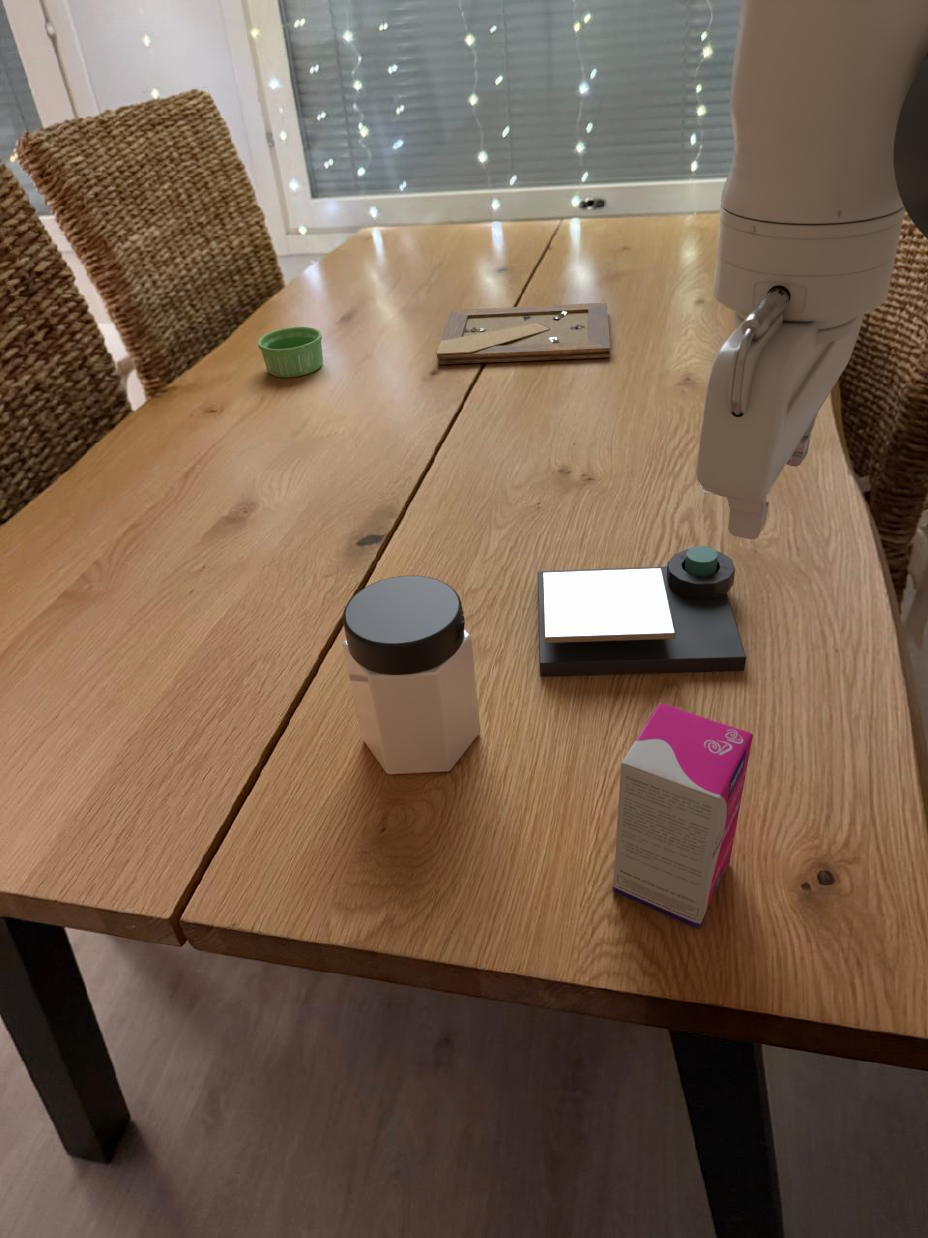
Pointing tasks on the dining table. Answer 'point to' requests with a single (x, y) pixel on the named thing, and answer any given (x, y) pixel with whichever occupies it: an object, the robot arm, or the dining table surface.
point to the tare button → (701, 561)
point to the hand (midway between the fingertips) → (769, 494)
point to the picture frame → (525, 334)
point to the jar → (411, 673)
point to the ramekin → (292, 351)
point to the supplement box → (678, 812)
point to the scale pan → (606, 606)
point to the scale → (697, 645)
